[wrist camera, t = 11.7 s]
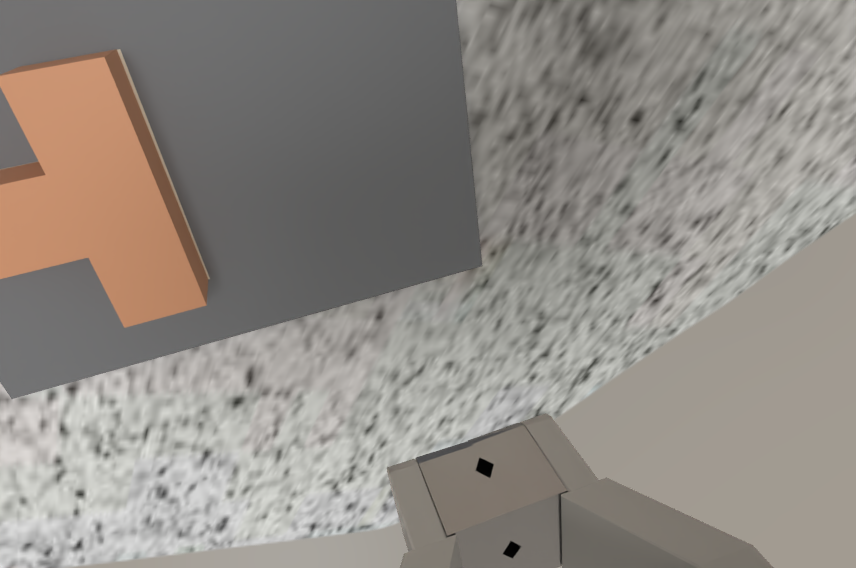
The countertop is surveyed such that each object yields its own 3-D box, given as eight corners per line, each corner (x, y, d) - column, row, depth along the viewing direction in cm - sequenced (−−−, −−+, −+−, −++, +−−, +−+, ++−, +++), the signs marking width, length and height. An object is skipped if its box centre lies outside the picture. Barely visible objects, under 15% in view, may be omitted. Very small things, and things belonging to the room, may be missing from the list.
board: (441, -104, 26) (445, -106, 26) (478, 262, 37) (482, 266, 36) (-257, -7, 21) (-270, -7, 20) (15, 392, 31) (11, 399, 31)
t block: (116, 49, 25) (104, 56, 22) (208, 279, 31) (206, 305, 28) (-140, 95, 23) (-185, 109, 20) (12, 330, 29) (-8, 363, 26)
